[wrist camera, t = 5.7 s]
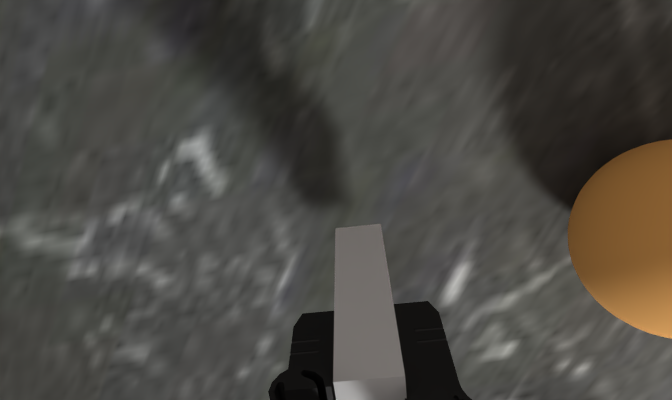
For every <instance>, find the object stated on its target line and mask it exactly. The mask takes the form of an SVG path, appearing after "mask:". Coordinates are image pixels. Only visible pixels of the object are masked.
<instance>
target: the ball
mask: <svg viewBox="0 0 672 400" xmlns="http://www.w3.org/2000/svg"><path fill="white" fill-rule="evenodd" d="M568 246H569V251H570V256H571V260H572V263H573V265H574V268H575V270H576V272H577V274H578V276H579V278H580V280H581V281H582V283H583V285H584V286H585V288H586V289H587V290H588V291H589V293H590V294H591V295H592V296H593V297H594V298H595V299H596V301H597V302H599V303H600V304H601V305H602V306H603V307H604V308H605V309H606V310H607V311H609V312H610V313H612V314H613V315H615V316H616V317H617V318H619V319H621V320H622V321H624V322H626V323H628V324H630V325H632V326H633V327H635V328H638V329H640V330H643V331H645V332H648V333H651V334H654V335H658V336H662V337H666V338H672V139H670V140H662V141H657V142H653V143H649V144H645V145H641V146H639V147H636V148H634V149H631V150H629V151H626V152H624V153H622V154H621V155H619V156H617V157H615V158H613V159H612V160H610V161H609V162H608V163H606V164H605V165H604V166H602V167H601V168H600V169H599V170H597V171H596V172H595V173H594V175H593V176H592V177H591V178H590V179H589V180H588V181H587V182H586V184H585V185H584V186H583V188H582V189H581V191H580V193H579V194H578V196H577V198H576V200H575V203H574V205H573V208H572V211H571V214H570V218H569V224H568Z"/></svg>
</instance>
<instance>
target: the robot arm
mask: <svg viewBox="0 0 672 400" xmlns="http://www.w3.org/2000/svg"><path fill="white" fill-rule="evenodd" d="M290 353H291V355H290V360H289V368H288V370H286V371H284V372H283V373H281V374H279V376H278V377H277V378H276V379H275V380H274V381H273V382H272V384H271V387H270V389H269V391H268V392H269V396H270V400H472V399H471V398H469V397H468V396H467V395H466V394H465V392H464V391H463V390H462V388H461V386H460V384H459V381H458V377H457V374H456V370H455V367H454V363H453V360H452V356H451V353H450V350H449V346H448V343H447V341H446V336H445V332H444V329H443V325H442V322H441V318H440V315H439V312H438V311H437V310H436V309H435V308H434V307H433V306H432V305H431V304H430V303H429V302H428V301H424V302H413V303H402V304H393V298H392V292H391V285H390V279H389V273H388V267H387V260H386V254H385V248H384V242H383V236H382V229H381V224H374V225H364V226H354V227H344V228H336V231H335V295H334V311H327V312H316V313H305V314H302V315H301V317H300V318H299V320H298V321H297V323H296V324H295V326H294V329H293V337H292V344H291V352H290Z"/></svg>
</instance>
